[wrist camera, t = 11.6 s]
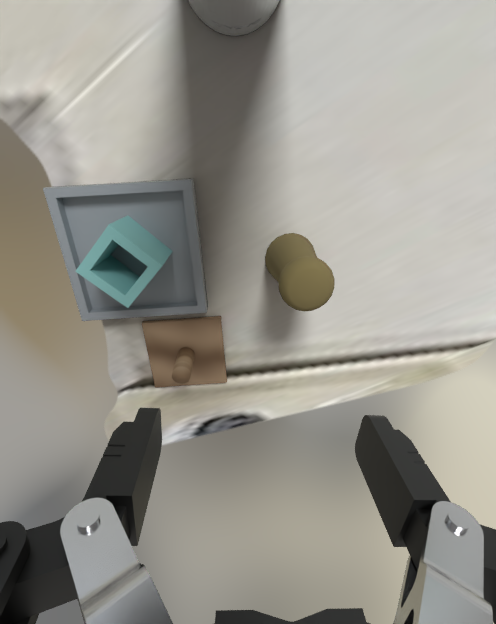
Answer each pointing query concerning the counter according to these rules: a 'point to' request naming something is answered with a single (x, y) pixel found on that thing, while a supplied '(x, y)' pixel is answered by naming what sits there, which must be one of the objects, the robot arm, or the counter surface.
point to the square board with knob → (186, 351)
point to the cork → (299, 272)
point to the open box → (114, 273)
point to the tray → (151, 216)
